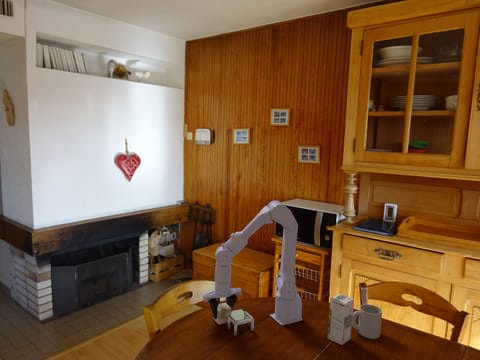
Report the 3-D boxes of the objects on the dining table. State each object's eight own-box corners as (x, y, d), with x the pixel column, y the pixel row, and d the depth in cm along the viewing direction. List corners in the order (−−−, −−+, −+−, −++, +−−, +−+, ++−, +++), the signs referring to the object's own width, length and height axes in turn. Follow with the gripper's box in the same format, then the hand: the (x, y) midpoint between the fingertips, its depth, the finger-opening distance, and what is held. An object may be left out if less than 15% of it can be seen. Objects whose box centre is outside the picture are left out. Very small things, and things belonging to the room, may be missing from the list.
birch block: (225, 315, 131) (225, 302, 131) (230, 321, 127) (231, 308, 126) (212, 318, 129) (213, 305, 128) (218, 324, 125) (218, 311, 124)
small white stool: (245, 322, 126) (246, 311, 126) (254, 330, 121) (254, 318, 121) (227, 327, 123) (227, 315, 122) (234, 335, 118) (235, 323, 117)
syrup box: (335, 332, 122) (338, 292, 120) (351, 339, 118) (354, 298, 116) (326, 338, 118) (329, 297, 116) (342, 346, 114) (345, 303, 112)
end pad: (241, 310, 136) (241, 309, 136) (250, 318, 130) (250, 317, 130) (225, 313, 132) (225, 312, 132) (233, 322, 126) (233, 321, 126)
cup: (382, 340, 118) (384, 315, 117) (352, 337, 119) (353, 312, 118) (377, 329, 125) (378, 305, 124) (348, 326, 126) (349, 302, 125)
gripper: (235, 273, 133) (234, 307, 135) (199, 279, 126) (199, 315, 128) (244, 280, 127) (243, 315, 129) (207, 286, 120) (206, 324, 122)
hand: (221, 316), depth 128 cm, fingers closed on birch block, 5 cm apart
